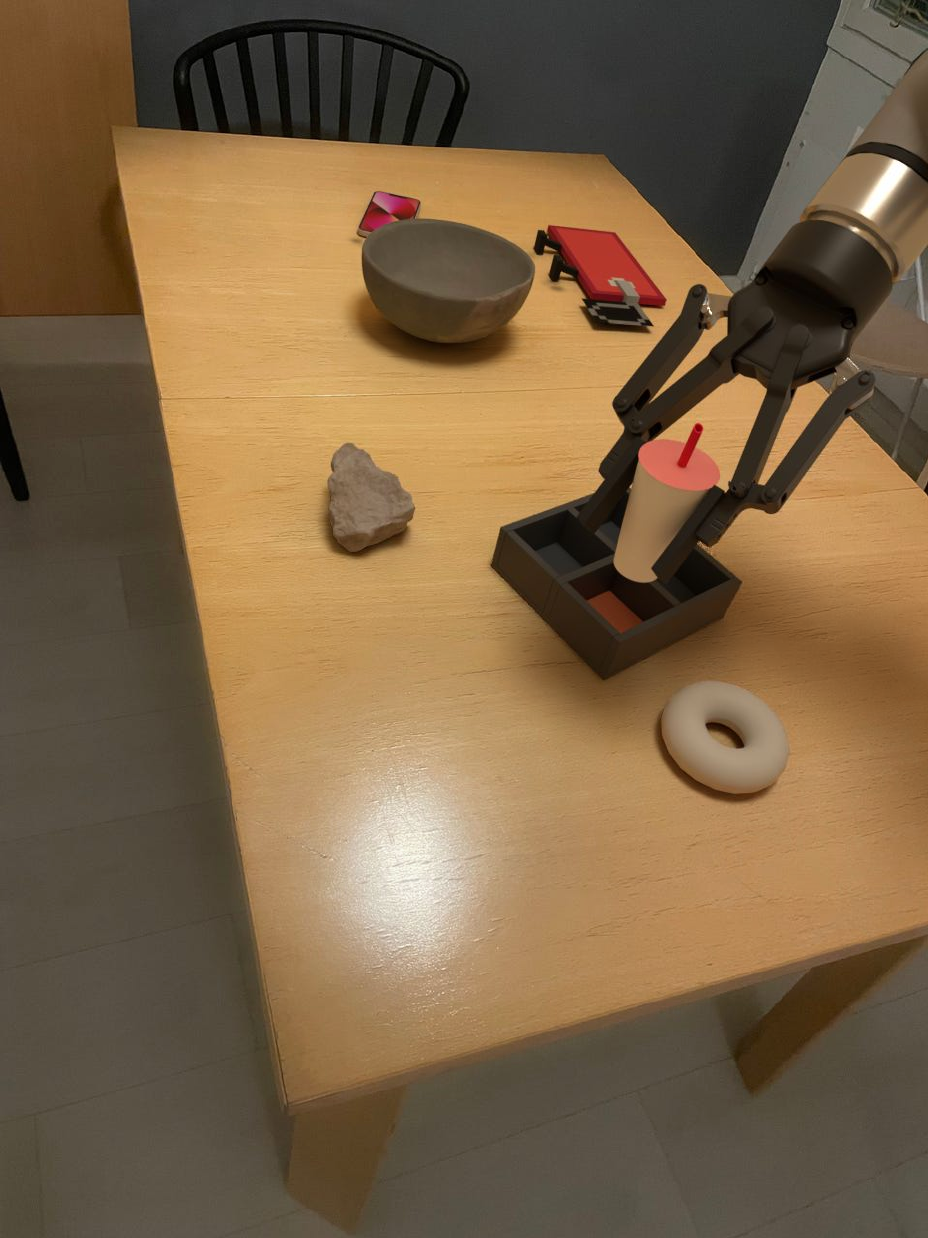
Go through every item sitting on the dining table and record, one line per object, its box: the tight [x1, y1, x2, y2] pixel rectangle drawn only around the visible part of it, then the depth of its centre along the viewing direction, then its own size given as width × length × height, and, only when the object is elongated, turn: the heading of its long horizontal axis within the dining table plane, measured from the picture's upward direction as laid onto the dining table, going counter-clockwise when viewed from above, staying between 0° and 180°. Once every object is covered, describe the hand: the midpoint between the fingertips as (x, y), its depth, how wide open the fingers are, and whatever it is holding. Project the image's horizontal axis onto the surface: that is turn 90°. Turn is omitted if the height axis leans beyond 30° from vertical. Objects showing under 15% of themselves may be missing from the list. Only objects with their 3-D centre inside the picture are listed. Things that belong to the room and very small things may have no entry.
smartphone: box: [357, 190, 422, 238], centre depth 128 cm, size 7×1×15 cm
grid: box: [490, 486, 743, 681], centre depth 78 cm, size 15×15×5 cm
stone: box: [326, 442, 416, 553], centre depth 78 cm, size 10×8×6 cm
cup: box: [614, 422, 721, 583], centre depth 58 cm, size 5×5×12 cm
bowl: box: [361, 217, 536, 344], centre depth 105 cm, size 20×20×10 cm
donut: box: [660, 680, 791, 795], centre depth 68 cm, size 10×4×10 cm
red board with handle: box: [533, 224, 668, 327], centre depth 125 cm, size 30×3×15 cm
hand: (621, 549), depth 57 cm, fingers closed on cup, 5 cm apart
